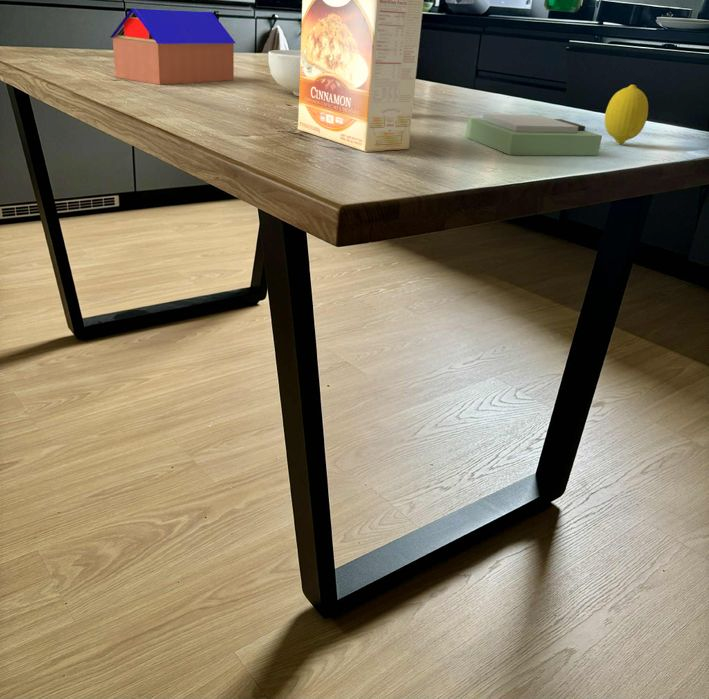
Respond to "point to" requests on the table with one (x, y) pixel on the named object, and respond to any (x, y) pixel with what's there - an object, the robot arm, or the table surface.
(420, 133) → the table surface
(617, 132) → the lemon
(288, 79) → the cereal bowl
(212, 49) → the house
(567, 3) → the soda can
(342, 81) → the coffeecake box
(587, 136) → the scale
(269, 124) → the table surface
